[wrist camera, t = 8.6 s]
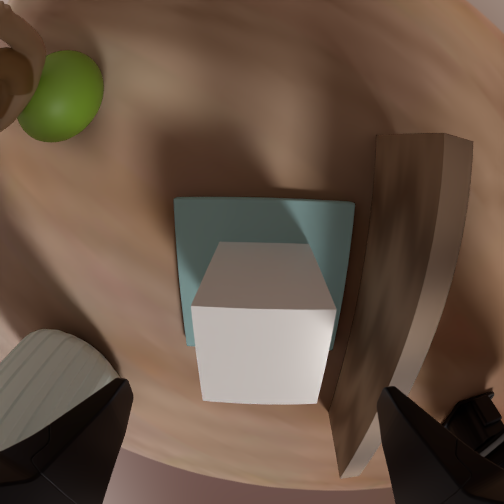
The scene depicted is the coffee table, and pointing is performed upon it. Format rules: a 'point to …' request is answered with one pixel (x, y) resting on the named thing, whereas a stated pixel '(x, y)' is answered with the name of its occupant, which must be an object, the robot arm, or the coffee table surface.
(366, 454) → the walnut screen
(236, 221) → the teal mat
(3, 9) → the snail figurine
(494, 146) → the coffee table surface
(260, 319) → the white rectangular block
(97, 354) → the vase
